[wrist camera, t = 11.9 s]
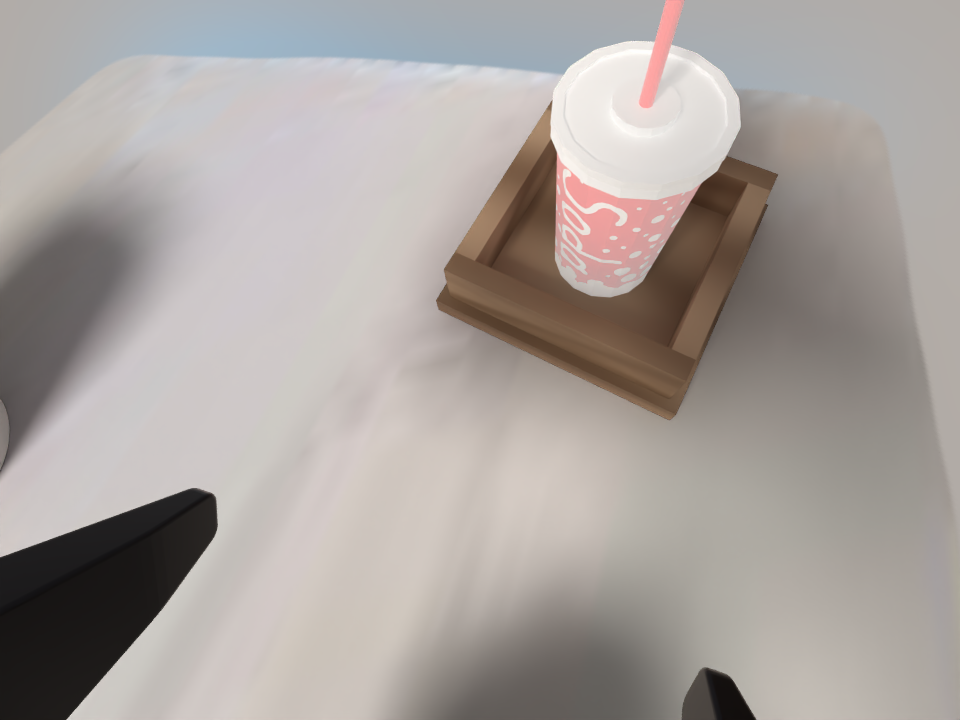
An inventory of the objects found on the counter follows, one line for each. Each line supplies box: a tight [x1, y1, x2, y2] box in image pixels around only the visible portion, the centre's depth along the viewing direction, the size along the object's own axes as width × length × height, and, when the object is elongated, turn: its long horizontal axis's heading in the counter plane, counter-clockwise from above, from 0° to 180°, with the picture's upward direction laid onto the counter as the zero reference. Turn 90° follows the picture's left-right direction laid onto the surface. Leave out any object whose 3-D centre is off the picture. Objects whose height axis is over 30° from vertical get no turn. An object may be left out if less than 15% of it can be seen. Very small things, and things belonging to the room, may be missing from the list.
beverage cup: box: [550, 0, 741, 297], centre depth 19 cm, size 6×6×14 cm
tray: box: [436, 100, 778, 420], centre depth 25 cm, size 12×12×4 cm
